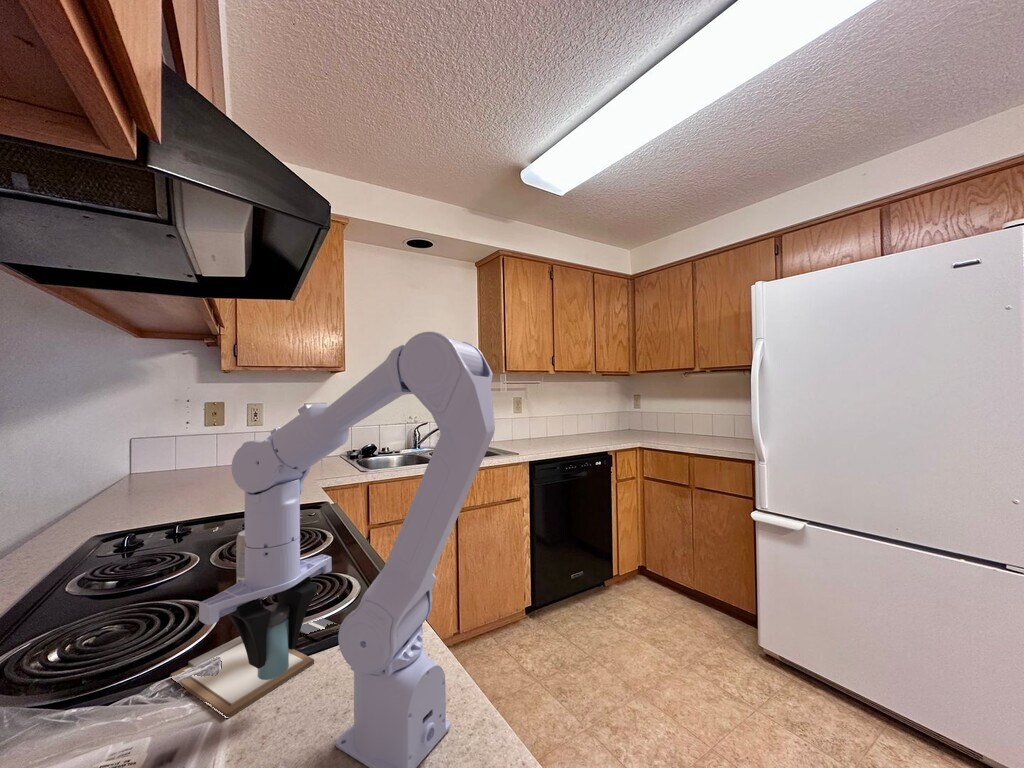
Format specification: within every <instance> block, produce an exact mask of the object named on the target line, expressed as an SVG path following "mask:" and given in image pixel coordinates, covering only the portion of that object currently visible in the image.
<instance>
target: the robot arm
mask: <svg viewBox="0 0 1024 768" xmlns="http://www.w3.org/2000/svg"><path fill="white" fill-rule="evenodd" d="M493 374H494V373H493V371H492V370H491V367H490V366H489V364H488V362H487V360H486V358H485V357H484V354H483V352H482V351H481V350H480V349H479V348H478V347H477V346H476V345H474V344H472V343H469V342H466V341H459V340H456V339H453V338H450V337H447V336H446V335H444V334H441V333H440V332H436V331H423V332H420V333H417V334H415V335H414V336H412V337H411V338H410V339H408V341H407V342H406V343H405V344H401V345H399V346H397V347H395V348H393V349H392V350H391V351H390V352H389V354H388V355H387V356H386V359H384V361H383V362H382V363H380V364H379V365H378V366H377V367H376V368H374V369H373V370H372V371H371V372H369V373H368V374H367V375H366V376H365V377H363V378H362V379H361V380H360V381H358V382H357V383H356V384H355V385H353V386H352V387H351V388H349V390H347V391H346V392H344V394H342V395H341V396H340V397H338V398H336V400H335V401H334V402H332V403H331V404H326V403H319V402H318V403H313V404H303V405H302V406H301V407H300V408H299V409H298V410H297V411H298V413H299V414H298V415H297V416H295V417H293V419H291V420H289V421H288V422H287V423H286V424H284V425H282V426H280V427H279V426H278V427H275V428H273V429H271V430H270V435H269V436H268V437H267V438H266V439H264V440H261V441H260V440H249V441H245V442H244V443H242V444H241V446H240V447H239V448H238V449H237V450H236V452H235V453H234V455H233V458H232V461H231V474H232V477H233V480H234V482H235V484H236V486H237V487H238V488H240V489H241V490H242V491H244V530H245V579H244V580H242V581H241V582H239V583H237V584H236V583H235V584H234V585H232V586H230V587H228V588H226V589H225V590H223V591H220V592H219V593H217V594H215V595H214V596H212V597H209V598H207V599H204V600H202V601H201V602H199V603H198V621H200V622H201V623H202V624H205V625H206V626H210V625H213V624H215V623H217V622H219V621H220V618H222V617H224V616H227V617H228V618H229V619H230V621H231V622H232V624H233V625H234V627H235V628H236V630H237V632H238V634H239V636H241V638H242V641H243V643H244V646H245V649H246V652H247V656H248V661H249V664H250V665H252V666H254V667H256V668H258V669H259V668H261V667H263V666H264V665H265V661H266V635H267V628H268V623H269V618H270V615H271V612H272V611H270V610H268V609H265V607H264V603H261V601H262V600H264V599H266V598H268V597H270V596H273V595H274V594H276V598H277V599H276V600H277V604H287V605H289V618H288V621H289V649H291V650H292V649H294V650H295V649H296V648H297V645H298V640H299V636H300V630H301V626H302V624H303V623H304V620H305V617H306V614H307V611H308V609H309V607H310V605H311V603H312V601H313V599H314V597H315V596H316V594H317V591H318V587H317V585H318V584H317V583H315V582H312V581H311V578H313V577H315V576H319V575H320V574H322V575H325V574H328V573H330V572H332V570H333V569H332V568H333V567H332V556H330V555H327V554H319V555H317V556H314V557H311V558H306V559H301V516H300V515H301V507H300V506H301V499H300V498H301V495H302V492H304V482H305V479H306V477H307V476H308V474H309V472H310V470H311V467H313V466H314V465H315V464H317V463H318V462H320V461H321V460H323V459H324V458H326V457H328V456H329V455H330V454H332V453H333V452H334V451H336V450H337V449H340V447H341V446H344V445H345V444H346V443H347V442H348V439H349V436H350V428H352V427H353V426H355V425H356V424H358V423H360V422H361V421H363V420H365V419H366V418H368V417H369V416H372V414H374V413H376V412H378V411H379V410H380V409H382V408H384V407H386V406H387V405H389V404H391V403H393V402H394V401H395V400H397V399H399V398H400V397H402V396H406V395H414V397H415V398H416V399H418V401H419V402H420V403H421V404H422V405H423V407H425V408H426V410H427V411H428V412H429V413H430V414H431V416H432V418H433V420H434V422H435V424H436V426H437V430H439V434H440V435H439V438H438V440H437V443H436V445H435V447H434V449H433V452H432V455H431V457H430V459H429V461H428V464H427V465H426V468H425V470H424V472H423V475H422V477H421V481H420V483H419V485H418V487H417V489H416V492H415V494H414V496H413V499H412V501H411V503H410V506H409V508H408V511H407V513H406V515H405V517H404V520H403V522H402V524H401V526H400V530H399V532H398V534H397V535H396V538H395V541H394V543H393V546H392V547H391V550H390V552H389V555H388V557H387V560H386V562H385V564H384V567H383V568H382V569H381V570H380V572H379V574H378V575H377V576H376V577H375V578H374V580H373V581H372V582H371V583H370V585H369V586H368V588H367V590H366V591H365V592H364V593H363V595H362V597H361V600H360V603H359V604H358V605H357V607H355V609H354V610H352V611H351V612H350V613H349V614H348V615H346V616H345V617H344V619H343V620H342V622H341V624H340V625H341V626H340V629H339V630H338V636H337V638H338V647H339V649H340V653H341V655H342V657H343V659H344V660H345V662H346V663H347V664H348V665H349V667H350V670H351V671H353V724H352V725H351V726H350V727H349V728H348V729H347V730H346V731H344V732H343V733H342V734H341V735H340V736H338V737H337V738H336V739H335V740H334V741H335V745H334V746H335V748H338V749H339V750H341V751H342V752H344V753H345V754H347V755H349V756H350V757H352V758H353V759H355V760H356V761H358V762H360V763H362V764H363V765H364V766H366V767H368V768H417V767H418V766H419V765H420V764H421V762H422V761H423V760H424V759H425V758H426V756H427V755H428V754H429V753H430V752H431V751H432V750H433V749H434V748H435V746H436V745H437V744H438V743H439V741H441V740H442V738H443V737H444V736H445V734H446V733H447V732H448V731H449V730H450V729H451V722H450V721H449V720H447V718H446V716H447V715H446V711H447V709H446V707H447V705H446V699H447V698H446V695H447V694H446V674H445V671H444V668H443V667H442V666H440V665H439V664H438V663H436V662H435V661H434V660H433V659H432V658H430V657H429V655H428V654H427V652H426V650H425V648H424V646H423V643H424V642H423V624H424V623H425V621H426V620H427V619H428V618H429V616H430V615H431V612H432V609H433V589H434V586H435V584H436V581H437V576H436V575H435V570H436V567H437V566H438V562H439V561H440V559H441V555H442V554H443V552H444V548H445V547H446V545H447V542H448V540H449V538H450V535H451V533H452V531H453V528H454V526H455V524H456V521H457V520H458V517H459V515H460V512H461V510H462V508H463V505H464V504H465V500H466V499H467V496H468V494H469V493H470V489H471V488H472V485H473V483H474V480H475V478H476V476H477V474H478V471H479V470H480V467H481V464H482V463H483V460H484V458H485V456H486V454H487V451H488V448H490V444H491V443H492V440H493V438H494V434H495V428H496V427H495V416H494V414H495V413H494V406H493V405H494V404H493V393H492V381H493ZM263 598H264V599H263ZM261 599H262V600H261Z"/></svg>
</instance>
